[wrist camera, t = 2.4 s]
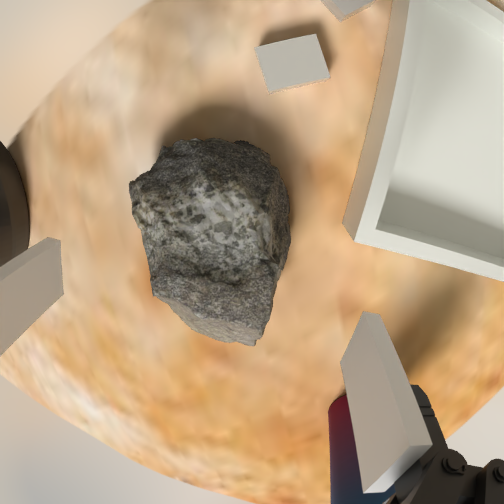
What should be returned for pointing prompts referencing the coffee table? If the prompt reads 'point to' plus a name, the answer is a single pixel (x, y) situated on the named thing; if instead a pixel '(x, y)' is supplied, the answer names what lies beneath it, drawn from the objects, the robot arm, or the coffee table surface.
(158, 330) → the coffee table surface
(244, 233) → the rock
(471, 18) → the bin
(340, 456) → the cup
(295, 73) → the grey small block
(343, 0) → the chip
